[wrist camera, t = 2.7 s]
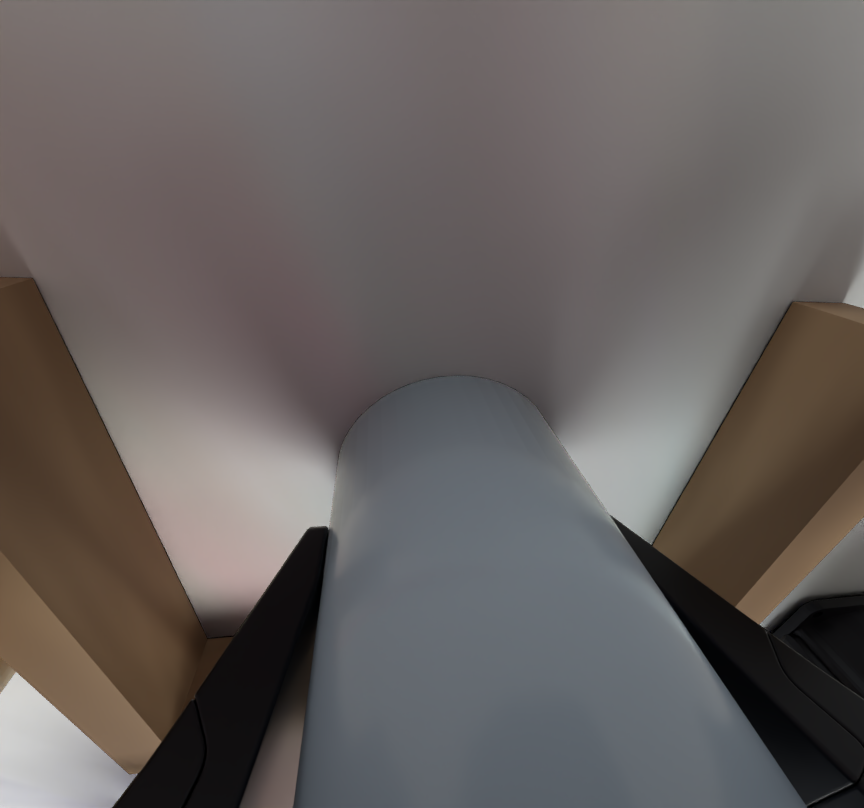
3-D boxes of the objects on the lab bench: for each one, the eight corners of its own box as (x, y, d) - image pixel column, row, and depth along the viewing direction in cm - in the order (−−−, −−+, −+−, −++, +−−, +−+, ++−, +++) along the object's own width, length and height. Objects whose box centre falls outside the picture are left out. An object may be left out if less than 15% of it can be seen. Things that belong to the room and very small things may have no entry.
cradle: (844, 303, 9) (1022, 354, 7) (640, 616, 17) (688, 696, 14) (-66, 275, 6) (-346, 342, 4) (174, 664, 14) (128, 774, 11)
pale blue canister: (575, 375, 9) (1092, 909, 3) (513, 583, 14) (642, 971, 7) (328, 375, 8) (148, 1169, 2) (348, 597, 13) (320, 1052, 6)
